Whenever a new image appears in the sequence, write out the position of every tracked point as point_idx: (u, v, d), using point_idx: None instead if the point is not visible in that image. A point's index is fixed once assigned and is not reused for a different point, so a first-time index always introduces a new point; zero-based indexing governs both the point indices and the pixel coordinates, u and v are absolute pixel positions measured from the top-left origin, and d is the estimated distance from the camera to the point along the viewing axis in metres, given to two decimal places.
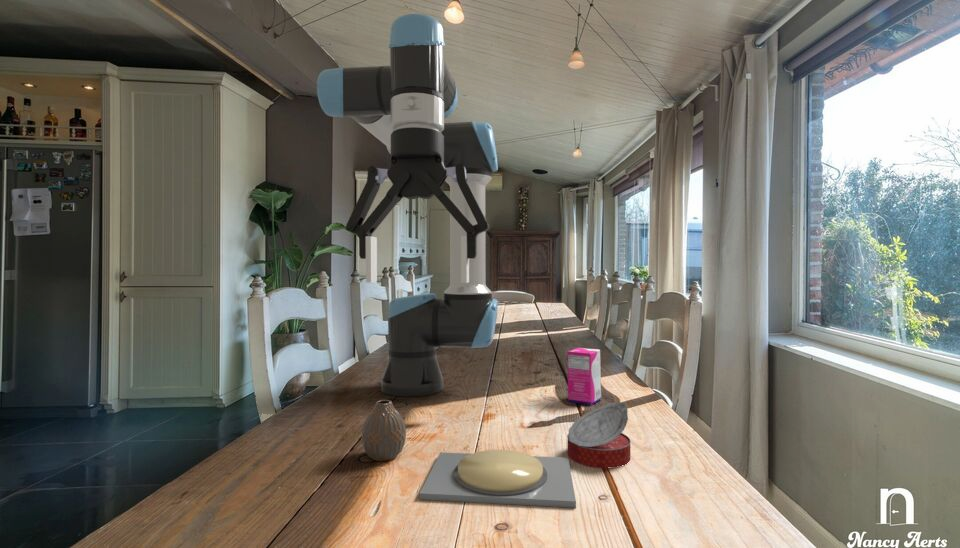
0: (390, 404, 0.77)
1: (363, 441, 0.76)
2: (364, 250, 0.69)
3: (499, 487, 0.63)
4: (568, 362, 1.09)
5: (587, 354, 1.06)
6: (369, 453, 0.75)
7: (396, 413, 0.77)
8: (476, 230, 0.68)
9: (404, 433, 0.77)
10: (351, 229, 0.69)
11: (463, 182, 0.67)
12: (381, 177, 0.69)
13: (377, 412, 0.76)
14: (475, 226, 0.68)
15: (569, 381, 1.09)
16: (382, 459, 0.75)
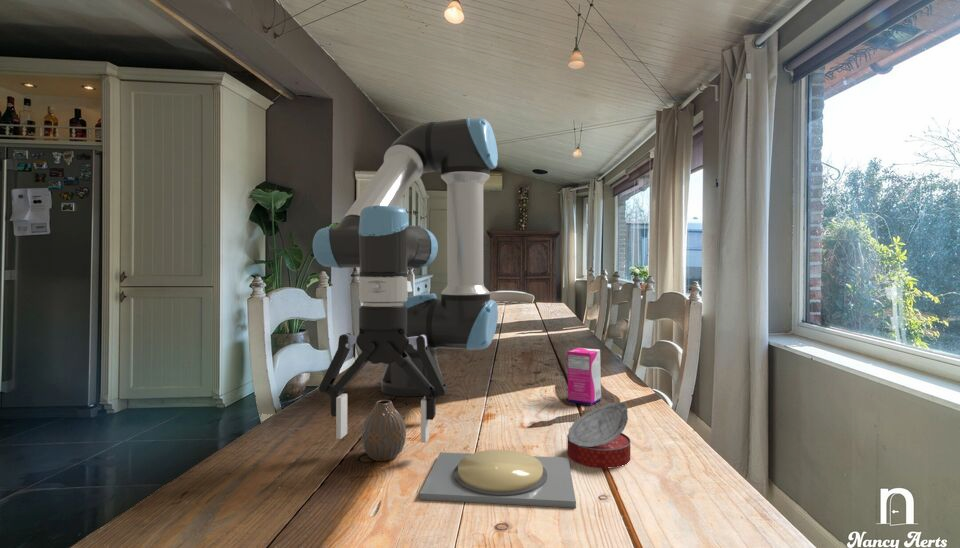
0: (390, 404, 0.77)
1: (363, 441, 0.76)
2: (335, 408, 0.78)
3: (499, 487, 0.63)
4: (568, 362, 1.09)
5: (587, 354, 1.06)
6: (369, 453, 0.75)
7: (396, 413, 0.77)
8: (434, 395, 0.76)
9: (404, 433, 0.77)
10: (323, 390, 0.77)
11: (423, 353, 0.76)
12: (351, 343, 0.78)
13: (377, 412, 0.76)
14: (434, 391, 0.76)
15: (569, 381, 1.09)
16: (382, 459, 0.75)
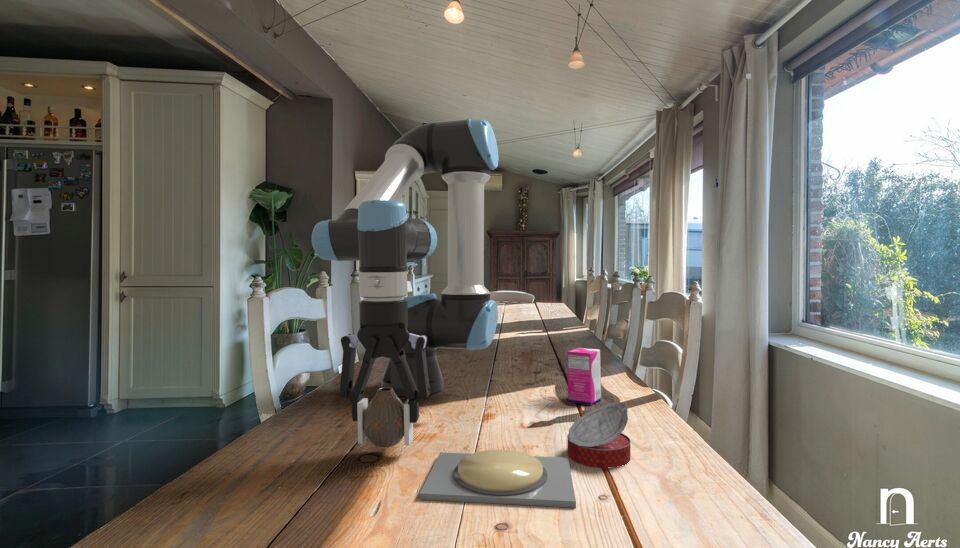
0: (391, 391, 0.78)
1: (365, 428, 0.77)
2: (356, 414, 0.78)
3: (499, 487, 0.63)
4: (568, 362, 1.09)
5: (587, 354, 1.06)
6: (371, 439, 0.76)
7: (398, 400, 0.78)
8: (417, 400, 0.77)
9: None
10: (345, 395, 0.78)
11: (419, 354, 0.76)
12: (354, 342, 0.78)
13: (378, 399, 0.77)
14: (416, 395, 0.77)
15: (569, 381, 1.09)
16: (384, 445, 0.76)
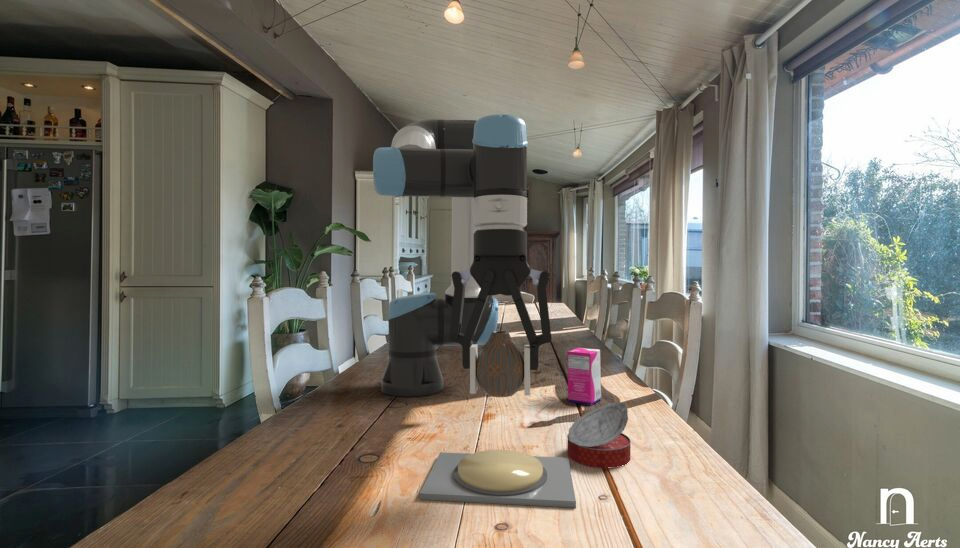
0: (508, 334, 0.68)
1: (480, 374, 0.67)
2: (467, 360, 0.69)
3: (499, 487, 0.63)
4: (568, 362, 1.09)
5: (587, 354, 1.06)
6: (488, 388, 0.67)
7: (515, 344, 0.68)
8: (539, 344, 0.68)
9: None
10: (455, 339, 0.68)
11: (543, 290, 0.67)
12: (466, 279, 0.69)
13: (495, 342, 0.67)
14: (538, 338, 0.68)
15: (569, 381, 1.09)
16: (502, 395, 0.67)
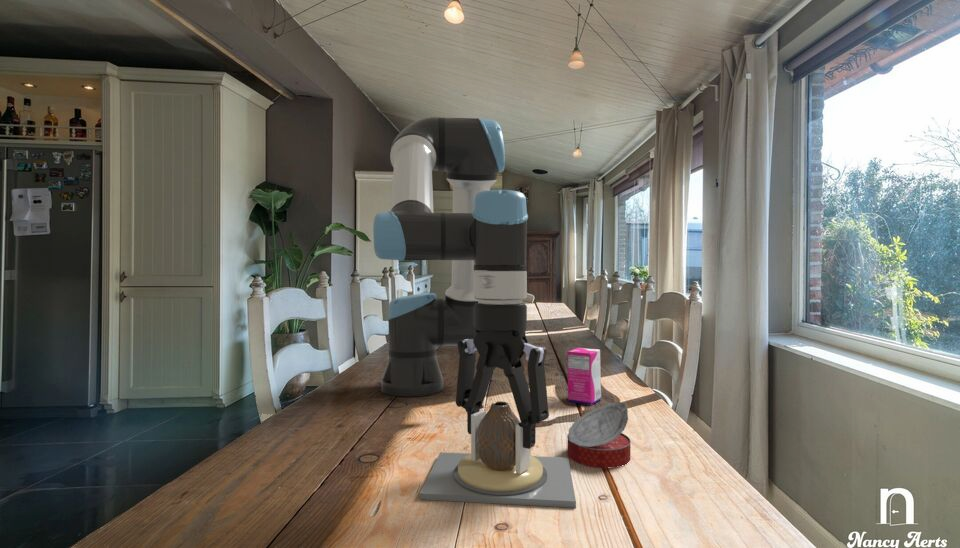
0: (505, 407, 0.68)
1: (476, 444, 0.69)
2: None
3: (499, 487, 0.63)
4: (568, 362, 1.09)
5: (587, 354, 1.06)
6: (481, 458, 0.68)
7: (512, 419, 0.68)
8: (531, 422, 0.65)
9: None
10: (460, 404, 0.72)
11: (532, 368, 0.65)
12: (471, 348, 0.71)
13: (490, 414, 0.68)
14: (530, 416, 0.65)
15: (569, 381, 1.09)
16: (493, 468, 0.67)
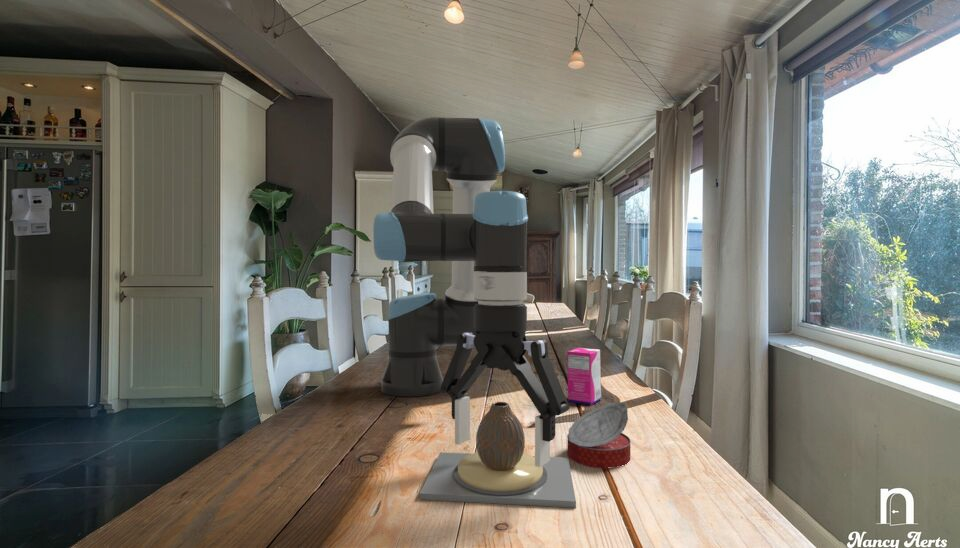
0: (506, 408, 0.68)
1: (476, 444, 0.69)
2: None
3: (499, 487, 0.63)
4: (568, 362, 1.09)
5: (587, 354, 1.06)
6: (480, 458, 0.68)
7: (512, 419, 0.68)
8: (551, 412, 0.64)
9: (520, 443, 0.67)
10: (444, 391, 0.74)
11: (537, 361, 0.64)
12: (469, 344, 0.72)
13: (490, 414, 0.68)
14: (550, 408, 0.64)
15: (569, 381, 1.09)
16: (493, 468, 0.67)
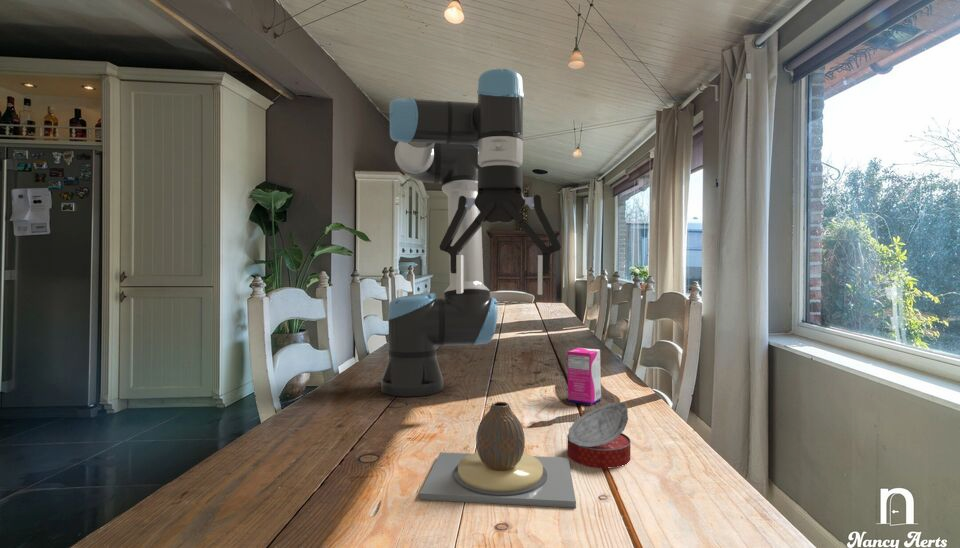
0: (506, 408, 0.68)
1: (476, 444, 0.69)
2: (454, 266, 0.83)
3: (499, 487, 0.63)
4: (568, 362, 1.09)
5: (587, 354, 1.06)
6: (480, 458, 0.68)
7: (512, 419, 0.68)
8: (550, 250, 0.81)
9: (520, 443, 0.67)
10: (444, 249, 0.82)
11: (540, 210, 0.80)
12: (469, 205, 0.82)
13: (490, 414, 0.68)
14: (549, 247, 0.81)
15: (569, 381, 1.09)
16: (493, 468, 0.67)
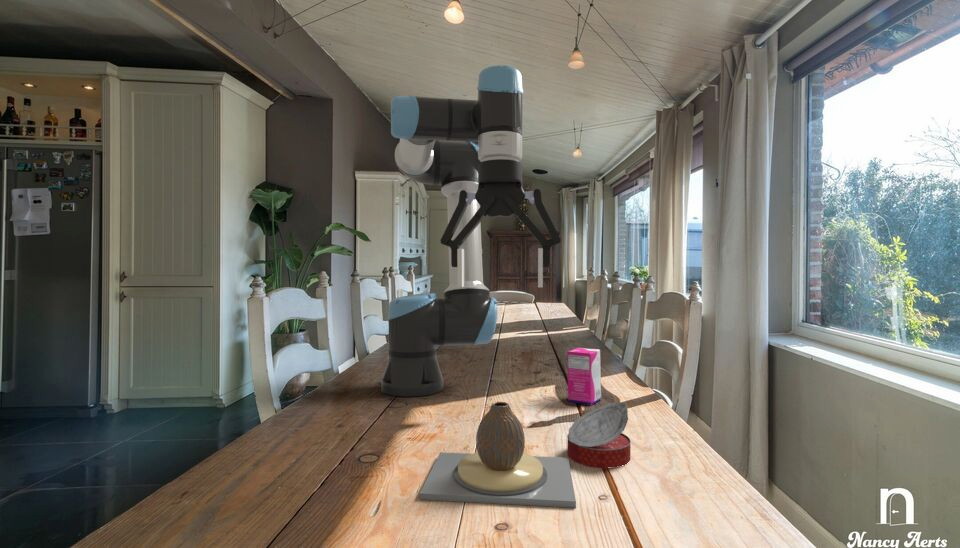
0: (506, 408, 0.68)
1: (476, 444, 0.69)
2: (455, 260, 0.83)
3: (499, 487, 0.63)
4: (568, 362, 1.09)
5: (587, 354, 1.06)
6: (480, 458, 0.68)
7: (512, 419, 0.68)
8: (550, 244, 0.82)
9: (520, 443, 0.67)
10: (445, 242, 0.83)
11: (540, 204, 0.81)
12: (470, 199, 0.83)
13: (490, 414, 0.68)
14: (549, 240, 0.82)
15: (569, 381, 1.09)
16: (493, 468, 0.67)
